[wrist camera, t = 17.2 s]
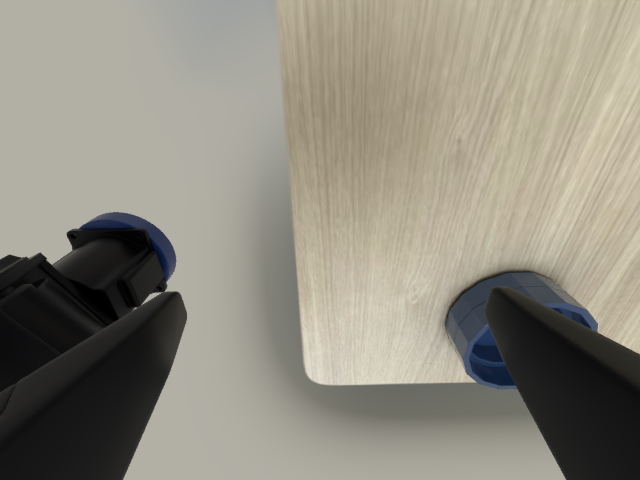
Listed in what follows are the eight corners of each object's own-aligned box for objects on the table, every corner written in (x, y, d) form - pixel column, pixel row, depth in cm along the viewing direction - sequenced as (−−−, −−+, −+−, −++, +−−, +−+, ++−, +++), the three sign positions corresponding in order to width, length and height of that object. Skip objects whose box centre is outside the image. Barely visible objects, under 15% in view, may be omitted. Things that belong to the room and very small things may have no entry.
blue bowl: (436, 352, 29) (452, 390, 25) (458, 271, 24) (482, 304, 20) (535, 350, 29) (565, 388, 25) (578, 269, 24) (623, 301, 20)
